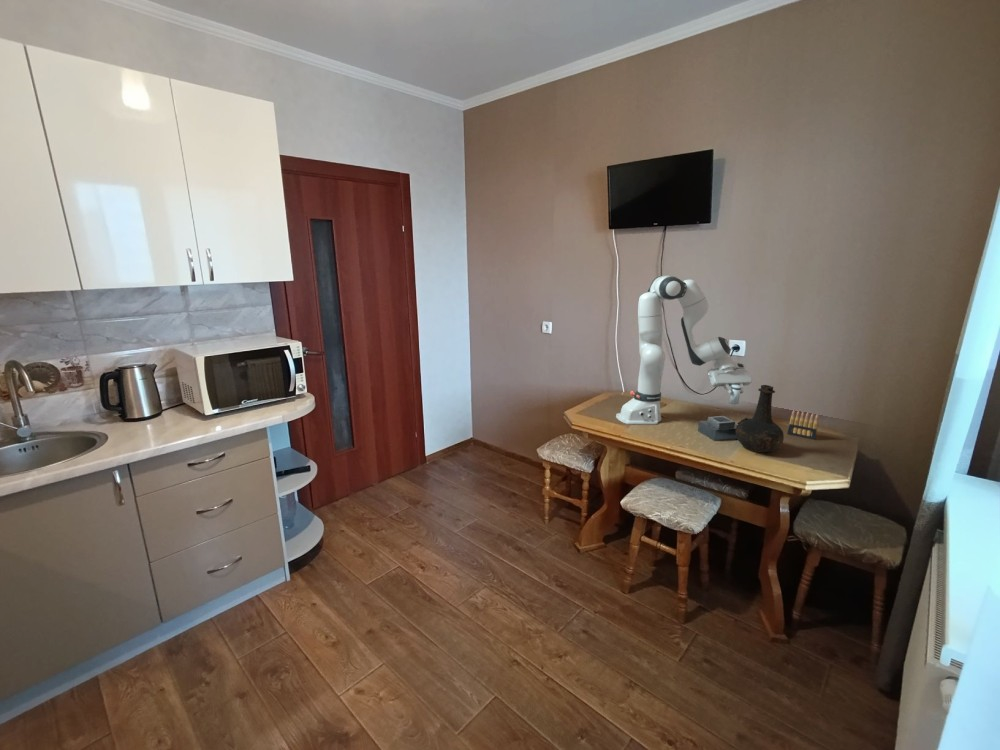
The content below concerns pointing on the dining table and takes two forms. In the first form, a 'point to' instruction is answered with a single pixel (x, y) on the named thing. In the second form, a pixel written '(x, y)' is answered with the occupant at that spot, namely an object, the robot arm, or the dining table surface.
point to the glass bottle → (760, 426)
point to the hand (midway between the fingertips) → (736, 393)
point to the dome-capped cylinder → (735, 394)
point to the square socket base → (718, 428)
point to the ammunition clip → (803, 425)
